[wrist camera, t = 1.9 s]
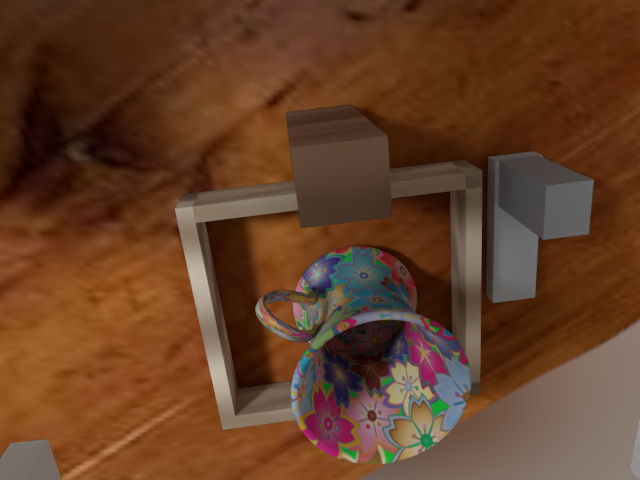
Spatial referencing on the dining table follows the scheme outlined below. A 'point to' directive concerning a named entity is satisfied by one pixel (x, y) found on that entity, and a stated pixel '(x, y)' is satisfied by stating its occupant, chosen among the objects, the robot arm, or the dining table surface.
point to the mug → (369, 359)
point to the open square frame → (325, 209)
